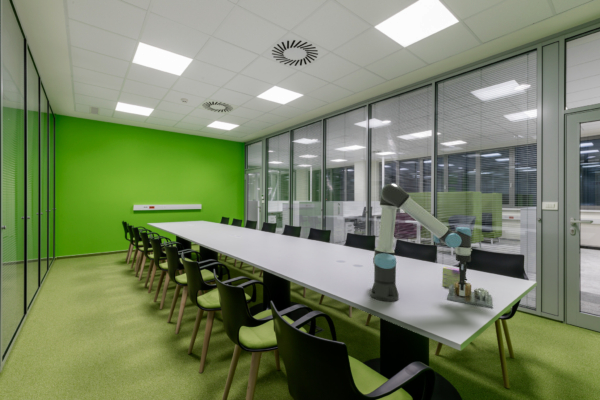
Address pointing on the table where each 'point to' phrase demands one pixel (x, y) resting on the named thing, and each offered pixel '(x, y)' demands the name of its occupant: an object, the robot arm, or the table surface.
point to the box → (450, 276)
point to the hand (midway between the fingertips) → (462, 293)
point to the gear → (467, 288)
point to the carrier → (471, 297)
